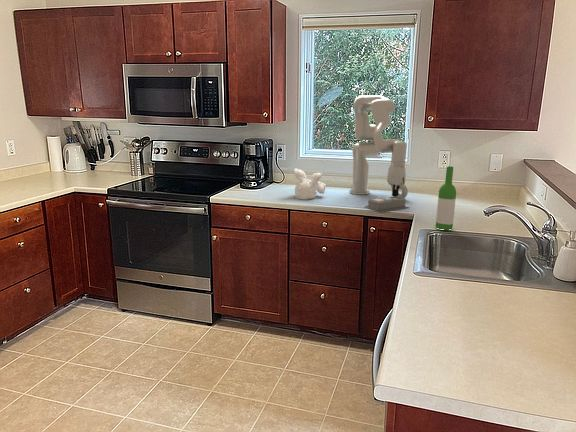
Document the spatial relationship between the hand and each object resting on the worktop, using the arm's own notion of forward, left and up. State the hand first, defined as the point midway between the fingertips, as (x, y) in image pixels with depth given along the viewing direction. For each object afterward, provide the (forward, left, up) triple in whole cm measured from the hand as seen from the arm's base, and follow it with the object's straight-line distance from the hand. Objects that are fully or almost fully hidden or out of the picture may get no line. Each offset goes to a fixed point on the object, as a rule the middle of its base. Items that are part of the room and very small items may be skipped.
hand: (394, 196), depth 273 cm
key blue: (+1, -7, -4) cm, 7 cm away
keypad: (+1, -7, -6) cm, 9 cm away
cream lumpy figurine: (-43, -29, -6) cm, 52 cm away
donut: (-10, +14, -6) cm, 18 cm away
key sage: (+1, 0, -5) cm, 5 cm away
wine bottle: (+46, -13, -6) cm, 48 cm away
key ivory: (+1, -13, -4) cm, 14 cm away
